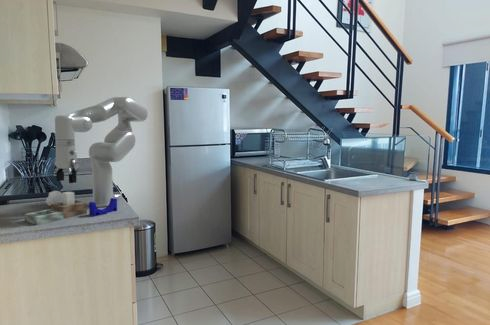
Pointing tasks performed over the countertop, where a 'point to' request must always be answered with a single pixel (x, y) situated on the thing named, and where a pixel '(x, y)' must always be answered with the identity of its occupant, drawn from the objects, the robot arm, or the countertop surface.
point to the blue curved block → (96, 212)
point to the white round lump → (54, 197)
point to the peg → (68, 198)
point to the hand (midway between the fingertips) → (66, 181)
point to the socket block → (56, 212)
